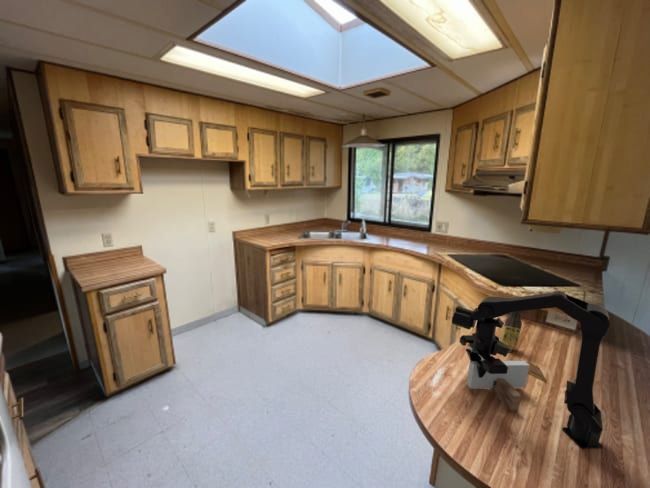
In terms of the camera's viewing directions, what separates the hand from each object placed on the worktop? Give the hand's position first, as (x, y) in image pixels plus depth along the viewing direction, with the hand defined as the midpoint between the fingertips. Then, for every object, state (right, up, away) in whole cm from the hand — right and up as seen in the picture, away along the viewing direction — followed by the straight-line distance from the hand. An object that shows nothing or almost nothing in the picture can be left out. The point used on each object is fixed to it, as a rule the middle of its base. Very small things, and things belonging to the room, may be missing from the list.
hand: (478, 374), depth 99 cm
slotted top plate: (+7, -5, +1) cm, 8 cm away
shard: (+29, -5, +13) cm, 32 cm away
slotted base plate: (+7, -6, +2) cm, 9 cm away
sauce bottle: (+28, -1, +28) cm, 40 cm away
